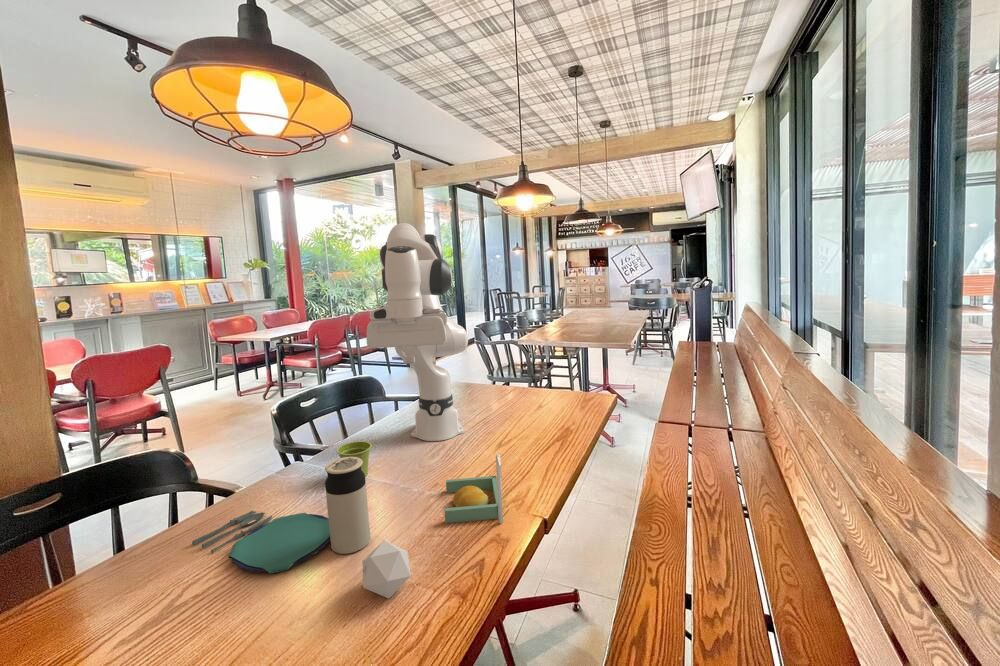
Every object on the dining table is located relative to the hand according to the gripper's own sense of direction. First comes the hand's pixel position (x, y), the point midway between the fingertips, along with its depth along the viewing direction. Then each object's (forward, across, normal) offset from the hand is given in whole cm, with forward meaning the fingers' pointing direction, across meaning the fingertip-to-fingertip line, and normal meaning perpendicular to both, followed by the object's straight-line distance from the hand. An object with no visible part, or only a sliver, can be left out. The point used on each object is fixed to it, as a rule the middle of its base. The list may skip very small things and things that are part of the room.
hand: (409, 363), depth 114 cm
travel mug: (+34, +12, +24) cm, 43 cm away
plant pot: (+34, +18, -9) cm, 40 cm away
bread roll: (+34, -14, +12) cm, 39 cm away
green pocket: (+34, -14, +15) cm, 40 cm away
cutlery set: (+34, +30, +20) cm, 50 cm away
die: (+34, +2, +39) cm, 52 cm away
